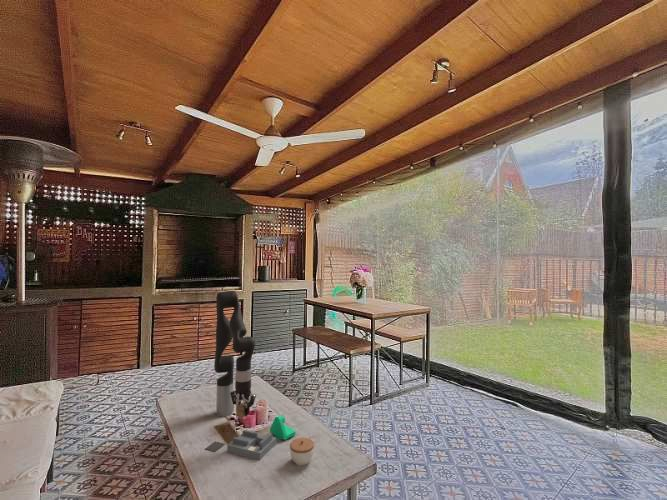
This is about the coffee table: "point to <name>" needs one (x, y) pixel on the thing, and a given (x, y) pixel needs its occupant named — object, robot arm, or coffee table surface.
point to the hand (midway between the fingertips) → (242, 414)
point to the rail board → (251, 444)
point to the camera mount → (281, 428)
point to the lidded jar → (301, 450)
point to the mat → (214, 446)
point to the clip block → (240, 410)
